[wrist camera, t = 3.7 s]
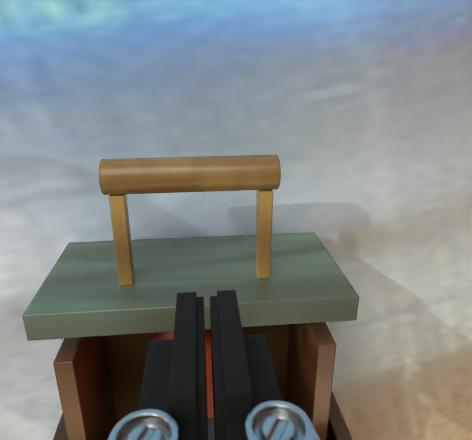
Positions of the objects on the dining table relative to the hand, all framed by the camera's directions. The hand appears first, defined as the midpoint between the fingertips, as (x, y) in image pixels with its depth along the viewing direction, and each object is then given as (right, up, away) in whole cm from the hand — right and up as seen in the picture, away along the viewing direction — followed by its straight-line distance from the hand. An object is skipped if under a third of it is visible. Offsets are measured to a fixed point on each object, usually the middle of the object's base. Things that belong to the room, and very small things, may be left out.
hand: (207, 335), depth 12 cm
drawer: (-1, -2, +13) cm, 13 cm away
